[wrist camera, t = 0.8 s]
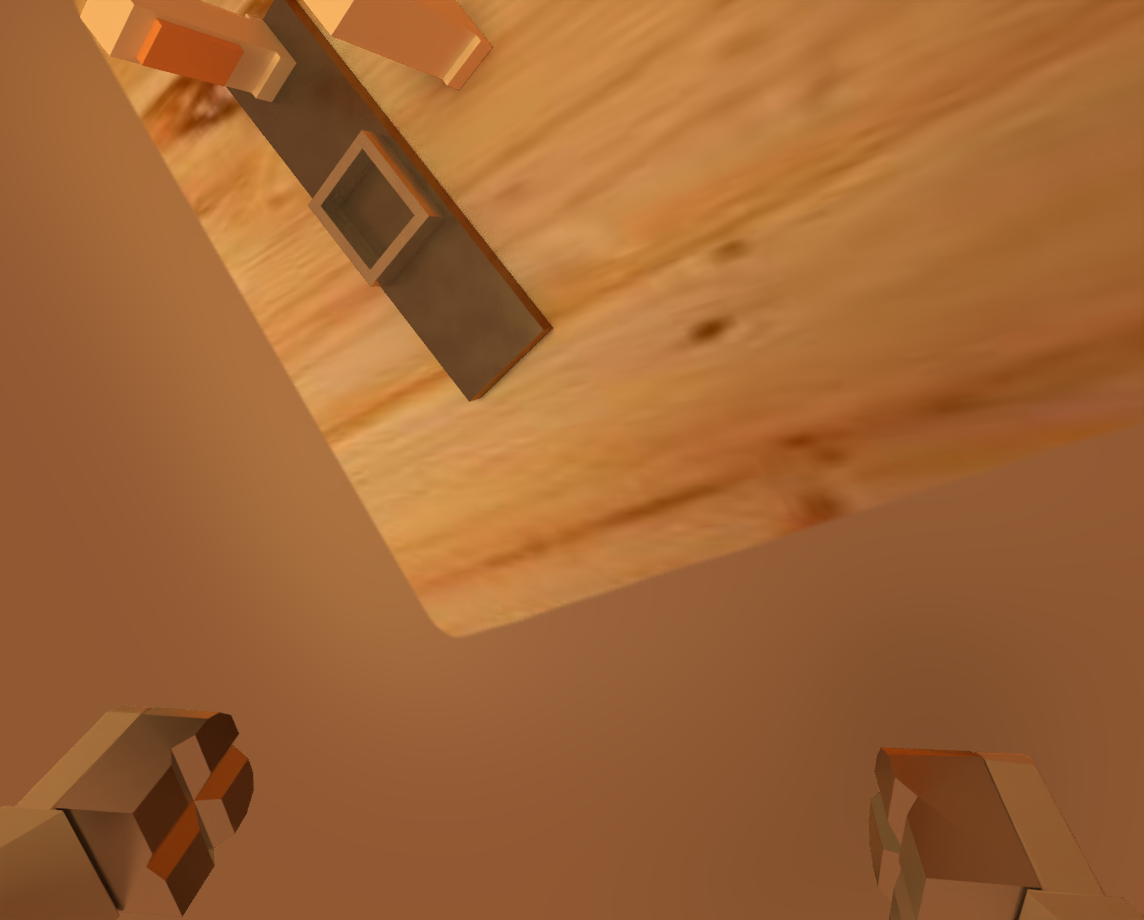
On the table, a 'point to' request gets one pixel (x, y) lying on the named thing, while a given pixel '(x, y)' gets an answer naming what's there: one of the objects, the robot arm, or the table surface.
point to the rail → (392, 212)
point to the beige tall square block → (409, 33)
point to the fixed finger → (192, 42)
